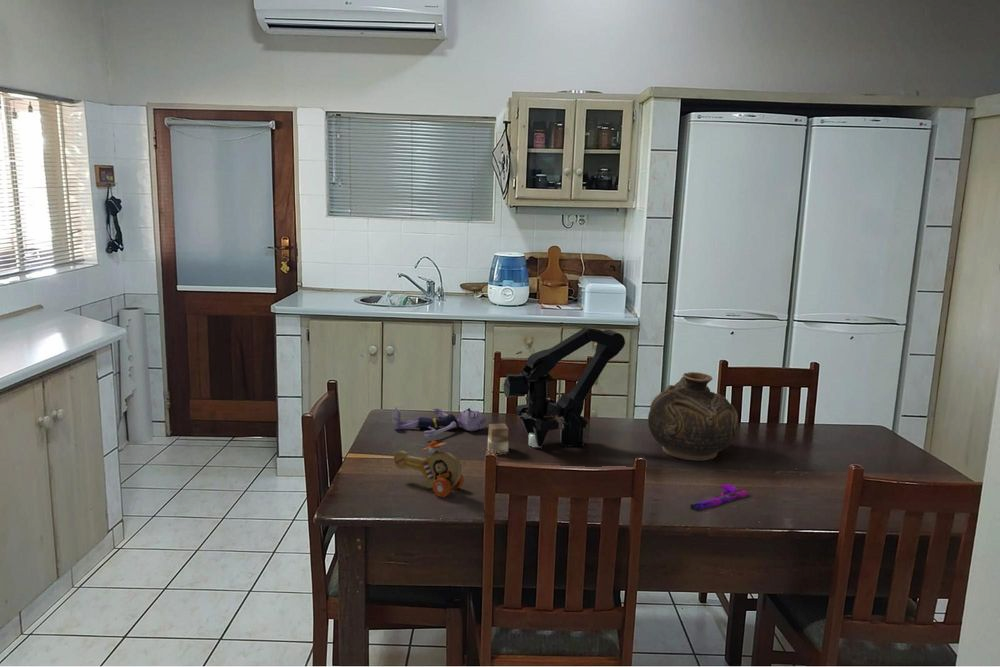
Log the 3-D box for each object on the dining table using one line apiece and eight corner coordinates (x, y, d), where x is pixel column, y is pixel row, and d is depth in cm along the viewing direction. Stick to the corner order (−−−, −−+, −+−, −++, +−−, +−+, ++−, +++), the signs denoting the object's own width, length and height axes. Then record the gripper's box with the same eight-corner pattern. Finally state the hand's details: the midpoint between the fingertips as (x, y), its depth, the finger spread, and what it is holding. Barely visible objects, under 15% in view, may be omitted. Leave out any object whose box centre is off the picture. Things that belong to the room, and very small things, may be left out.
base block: (506, 448, 233) (507, 435, 232) (508, 454, 227) (508, 442, 226) (487, 447, 232) (487, 435, 232) (488, 454, 227) (488, 442, 226)
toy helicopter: (450, 500, 193) (451, 449, 190) (385, 483, 202) (385, 434, 200) (467, 489, 200) (468, 440, 197) (403, 473, 210) (403, 426, 207)
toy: (399, 398, 261) (485, 391, 260) (402, 423, 263) (488, 417, 261) (386, 421, 235) (482, 414, 234) (390, 449, 237) (485, 442, 236)
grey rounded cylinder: (541, 444, 237) (542, 432, 236) (543, 449, 232) (543, 436, 232) (527, 444, 236) (528, 432, 236) (529, 449, 232) (529, 436, 231)
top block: (504, 435, 232) (504, 423, 231) (507, 441, 227) (508, 428, 226) (488, 436, 231) (488, 424, 230) (491, 441, 226) (492, 429, 225)
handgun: (727, 488, 208) (728, 481, 208) (750, 497, 202) (751, 490, 201) (674, 502, 197) (674, 495, 197) (696, 513, 191) (696, 506, 190)
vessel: (682, 430, 253) (692, 359, 247) (752, 460, 231) (765, 383, 226) (625, 444, 237) (634, 368, 231) (695, 478, 215) (707, 395, 210)
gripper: (575, 400, 226) (572, 450, 229) (546, 385, 243) (545, 431, 246) (542, 404, 221) (540, 454, 224) (515, 388, 238) (514, 435, 241)
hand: (535, 443), depth 234 cm, fingers open, 6 cm apart
